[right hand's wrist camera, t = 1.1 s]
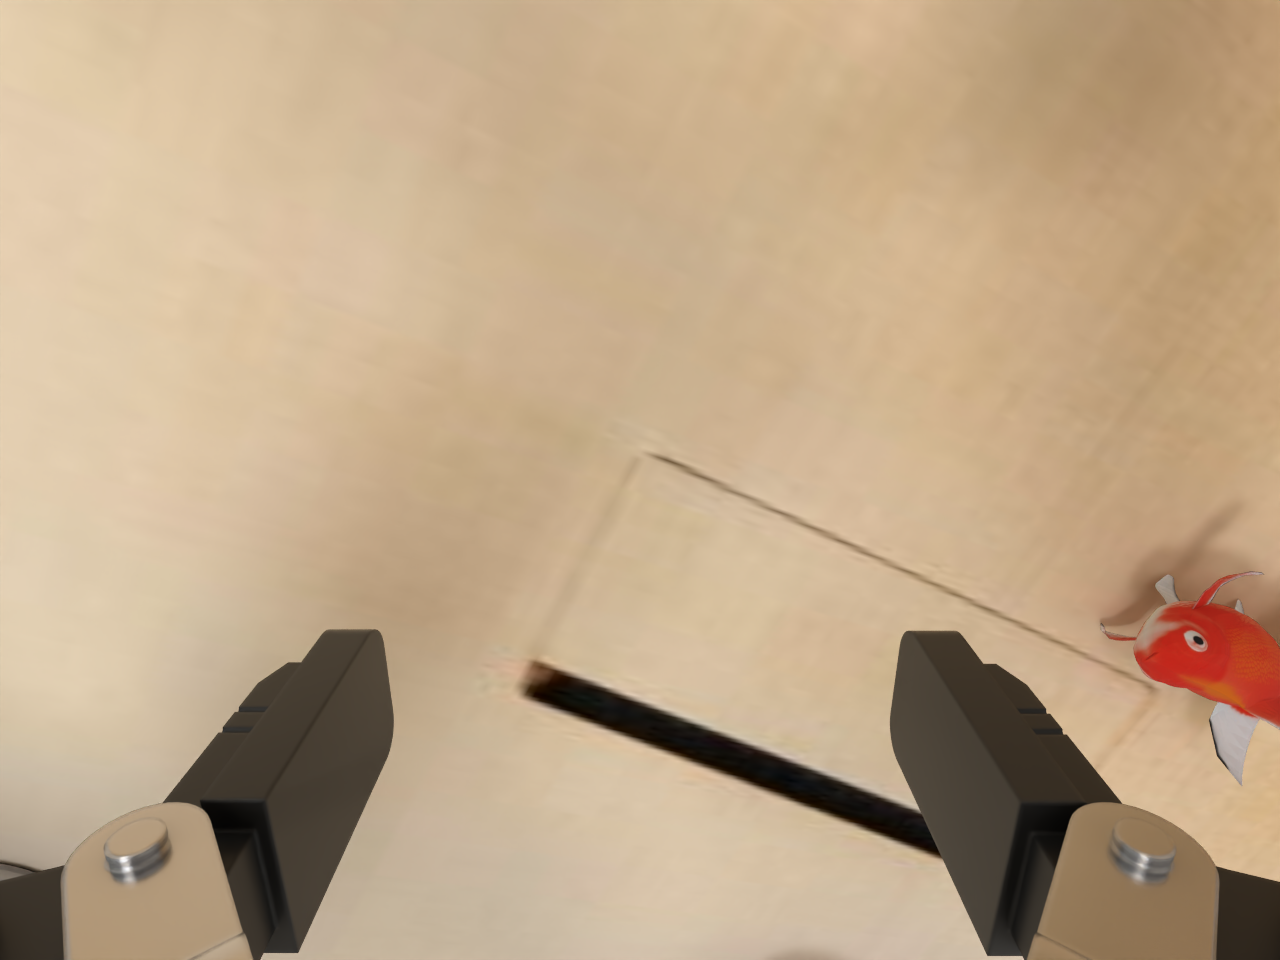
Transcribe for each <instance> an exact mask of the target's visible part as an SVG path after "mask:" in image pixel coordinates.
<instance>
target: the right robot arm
mask: <svg viewBox="0 0 1280 960" xmlns="http://www.w3.org/2000/svg"><path fill="white" fill-rule="evenodd" d="M393 727H394V716H393V707H392V700H391V692H390V685H389V678H388V670H387V663H386V656H385V648H384V642H383V638H382V635H381V633H380V632H379V631H378V630H326V631H325V632H324V633H323V634H322V635H321V636H320V638H319V639H318V641H317V642H316V643H315V645H314V646H313V647H312V649H311V650H310V651H309V653H308V654H307V655H306V657H305V658H304V659H303V661H302V662H301V663H287V664H286V665H284V666H283V667H281V668H280V669H278V670H277V671H275V672H274V673H272V674H271V675H269V676H268V677H266V678H265V679H264V680H262V681H261V682H259V683H258V684H257V685H256V686H255V688H254V689H253V690H252V691H251V693H250V694H249V695H248V696H247V698H246V699H245V700H244V702H243V703H242V704H241V705H240V707H239V711H238V712H235V713H234V714H233V715H232V717H231V718H230V719H229V720H228V722H227V723H226V724H225V725H224V727H223V731H222V733H218V734H217V735H216V737H215V738H214V739H213V740H212V742H211V743H210V744H209V745H208V747H207V748H206V749H205V750H204V752H203V753H202V754H201V755H200V757H199V758H198V759H197V760H196V762H195V763H194V764H193V765H192V767H191V768H190V769H189V771H188V772H187V773H186V774H185V776H184V777H183V778H182V779H181V781H180V782H179V783H178V784H177V786H176V787H175V788H174V789H173V791H172V792H171V793H170V794H169V796H168V797H167V798H166V799H165V801H164V802H163V803H161V804H155V805H151V806H147V807H144V808H141V809H138V810H135V811H132V812H130V813H127V814H125V815H123V816H121V817H119V818H117V819H115V820H113V821H111V822H109V823H108V824H106V825H105V826H103V827H101V828H100V829H98V830H97V831H96V832H94V833H93V834H92V835H90V836H89V837H88V838H87V839H86V840H85V841H84V842H82V843H81V844H80V845H79V846H78V847H77V848H76V850H75V851H74V852H73V853H72V855H71V856H70V857H69V859H68V861H67V862H66V864H65V865H64V866H60V867H56V868H52V869H48V870H43V871H39V872H35V873H31V874H27V875H22V876H18V877H14V878H10V879H6V880H1V881H0V960H260V959H261V957H262V955H263V953H298V952H299V950H300V948H301V945H302V943H303V941H304V939H305V937H306V934H307V932H308V930H309V928H310V926H311V923H312V921H313V919H314V917H315V915H316V913H317V910H318V908H319V906H320V904H321V902H322V899H323V897H324V895H325V893H326V891H327V888H328V886H329V884H330V882H331V880H332V877H333V875H334V873H335V871H336V869H337V867H338V864H339V862H340V860H341V858H342V856H343V853H344V851H345V849H346V847H347V845H348V842H349V840H350V838H351V836H352V834H353V831H354V829H355V827H356V825H357V823H358V821H359V818H360V816H361V814H362V812H363V810H364V807H365V805H366V803H367V801H368V799H369V796H370V794H371V792H372V790H373V788H374V786H375V783H376V781H377V779H378V777H379V775H380V772H381V770H382V768H383V766H384V764H385V761H386V759H387V757H388V754H389V751H390V747H391V743H392V737H393ZM890 732H891V740H892V746H893V750H894V753H895V756H896V759H897V761H898V763H899V765H900V768H901V770H902V772H903V774H904V776H905V778H906V781H907V783H908V785H909V787H910V789H911V791H912V794H913V796H914V798H915V800H916V802H917V804H918V807H919V809H920V811H921V813H922V815H923V817H924V820H925V822H926V824H927V826H928V828H929V830H930V833H931V835H932V837H933V839H934V841H935V843H936V846H937V848H938V850H939V852H940V854H941V856H942V858H943V861H944V863H945V865H946V867H947V869H948V871H949V874H950V876H951V878H952V880H953V882H954V884H955V887H956V889H957V891H958V893H959V895H960V897H961V900H962V902H963V904H964V906H965V908H966V910H967V913H968V915H969V917H970V919H971V921H972V923H973V926H974V928H975V930H976V932H977V934H978V936H979V939H980V941H981V943H982V945H983V947H984V949H985V951H986V954H987V956H1023V958H1024V960H1280V882H1278V881H1273V880H1269V879H1265V878H1261V877H1257V876H1252V875H1248V874H1244V873H1240V872H1236V871H1231V870H1227V869H1224V868H1220V867H1217V866H1215V864H1214V862H1213V861H1212V859H1211V857H1210V856H1209V855H1208V853H1207V852H1206V851H1205V850H1204V848H1203V847H1202V846H1201V845H1200V844H1199V843H1198V842H1196V841H1195V840H1194V839H1193V838H1192V837H1191V836H1190V835H1188V834H1187V833H1186V832H1184V831H1183V830H1182V829H1180V828H1179V827H1177V826H1175V825H1174V824H1172V823H1171V822H1169V821H1167V820H1165V819H1163V818H1161V817H1159V816H1157V815H1155V814H1153V813H1150V812H1148V811H1145V810H1142V809H1139V808H1136V807H1133V806H1129V805H1125V804H1122V803H1121V801H1120V800H1119V799H1118V798H1117V796H1116V795H1115V794H1114V793H1113V792H1112V790H1111V789H1110V788H1109V787H1108V785H1107V784H1106V783H1105V782H1104V780H1103V779H1102V778H1101V777H1100V775H1099V774H1098V773H1097V772H1096V770H1095V769H1094V768H1093V767H1092V765H1091V764H1090V763H1089V762H1088V760H1087V759H1086V758H1085V757H1084V755H1083V754H1082V753H1081V752H1080V750H1079V749H1078V748H1077V747H1076V746H1075V744H1074V743H1073V742H1072V741H1071V739H1070V738H1069V737H1068V736H1067V735H1063V732H1062V728H1061V727H1060V726H1059V724H1058V723H1057V722H1056V721H1055V719H1054V718H1053V717H1052V716H1051V714H1047V713H1046V708H1045V707H1044V706H1043V704H1042V703H1041V702H1040V701H1039V700H1038V698H1037V697H1036V696H1035V695H1034V693H1033V692H1032V691H1031V690H1030V688H1029V687H1028V686H1027V685H1026V684H1025V683H1023V682H1022V681H1020V680H1019V679H1017V678H1016V677H1014V676H1013V675H1012V674H1010V673H1009V672H1007V671H1006V670H1004V669H1003V668H1001V667H1000V666H998V665H997V664H983V663H982V661H981V660H980V659H979V657H978V656H977V655H976V653H975V652H974V651H973V649H972V648H971V647H970V645H969V644H968V643H967V641H966V640H965V639H964V637H963V636H962V635H961V634H960V633H959V632H957V631H906V632H905V633H904V635H903V637H902V639H901V643H900V649H899V656H898V663H897V671H896V678H895V685H894V692H893V700H892V707H891V715H890Z"/></svg>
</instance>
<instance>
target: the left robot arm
mask: <svg viewBox="0 0 1280 960" xmlns="http://www.w3.org/2000/svg"><path fill="white" fill-rule="evenodd" d="M31 873H35V872H32V871H29V870H26V869H22V868H19V867H15V866H10V865H5V864H0V881H1V880H6V879H10V878H14V877H18V876H22V875H27V874H31Z"/></svg>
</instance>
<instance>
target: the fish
mask: <svg viewBox="0 0 1280 960" xmlns="http://www.w3.org/2000/svg"><path fill="white" fill-rule="evenodd" d="M1258 574H1263V573H1261V572H1253V571H1251V572H1246V573H1242V574H1234V575H1229V576H1226V577H1223V578H1221V579H1219V580H1218V581H1216V582H1215V583H1214V584H1213V585H1212V586H1211V587H1210V588H1208V589H1207V590H1205V591H1204V592H1203V594H1202V595H1201V597H1200V598H1199V599H1198V601H1180V600H1179V599H1178V597H1177V595H1176V593H1175V588H1174V578H1173V577H1172V576H1171V575H1166V576H1164V577H1163V578H1162V579H1161V580H1159V581H1158V582H1157V583H1156V585H1155V587H1156V589H1157V590H1158V592H1159V593H1160V594H1161V595H1162V596H1163V598H1164V599H1165V601H1166V605H1163V606H1160V607H1158V608H1157V609H1156V610H1155V611H1154V613H1153V614H1152V615H1151V616H1150V617H1149V618H1148V619H1147V620H1146V622H1145V623H1144V625H1143V627H1142V628H1141V630H1140V632H1139V633H1138V636H1137V638H1136V637H1129V636H1123V635H1118V634H1113V633H1110V632H1107V631H1105V628H1104V626H1103V625H1102V624H1101V631H1102V632H1104V633H1105V634H1106V635H1107V636H1108V637H1109V639H1113V640H1119V641H1127V640H1136V642H1135V645H1134V655H1135V658H1136V661H1137V662H1138V664H1139V666H1140V668H1141V670H1142V672H1143V673H1144V674H1145V675H1146V676H1147V677H1149V678H1150V679H1153V680H1155V681H1158V682H1162V683H1165V684H1168V685H1170V686H1174V687H1180V688H1187V689H1189V690H1191V691H1192V692H1194V693H1197V694H1199V695H1201V696H1203V697H1205V698H1208V699H1210V700H1213V701H1217V702H1218V703H1217V705H1216V707H1215V708H1214V710H1213V713H1212V715H1211V717H1210V719H1209V722H1210V727H1211V731H1212V735H1213V740H1214V744H1215V749H1216V753H1217V757H1218V758H1219V759H1220V760H1221V761H1222V763H1223V764H1224V765H1225V766H1226V768H1227V769H1228V770H1229V771H1230V773H1231V774H1232V775H1233V776H1234V777H1235V779H1236V780H1237V781H1238V782H1239V784H1240V785H1241V786H1242V772H1243V765H1244V760H1245V756H1246V752H1247V748H1248V745H1249V742H1250V739H1251V736H1252V734H1253V731H1254V729H1255V727H1256V725H1257V723H1258V721H1259V719H1262V720H1264V721H1266V722H1267V723H1269V724H1271V725H1273V726H1274V727H1276V728H1278V729H1280V648H1279V646H1278V644H1277V643H1276V641H1275V640H1274V639H1273V638H1272V637H1271V636H1270V635H1269V634H1268V633H1267V632H1266V631H1265V630H1264V629H1263V628H1262V627H1261V626H1260V625H1259V624H1258V623H1257V622H1255V621H1254V620H1253V619H1251V618H1250V617H1248V616H1246V615H1245V614H1244V611H1243V607H1242V603H1241V601H1240V600H1239V599H1238V600H1237V604H1236V607H1235V609H1232V608H1230V607H1227V606H1223V605H1218V604H1214V603H1210V602H1211V601H1212V599H1213V598H1214V596H1215V594H1216V592H1217V591H1218V589H1219V588H1220V587H1221V586H1222V585H1224V584H1225V583H1227V582H1229V581H1231V580H1234V579H1236V578H1239V577H1241V576H1244V575H1258Z"/></svg>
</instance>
